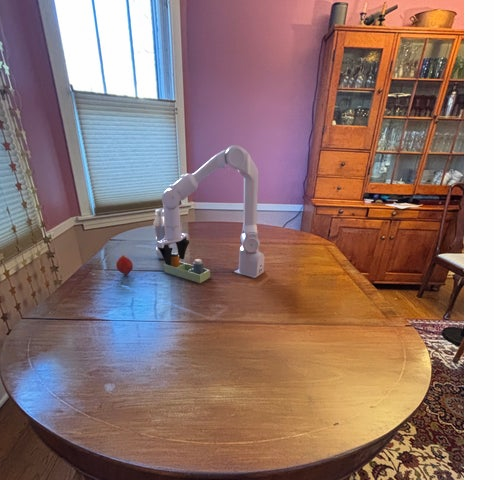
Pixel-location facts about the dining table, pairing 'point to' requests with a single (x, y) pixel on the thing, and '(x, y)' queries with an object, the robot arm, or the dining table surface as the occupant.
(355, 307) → the dining table surface
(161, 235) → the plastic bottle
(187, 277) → the bottle holder
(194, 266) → the slate spice bottle
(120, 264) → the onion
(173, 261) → the amber spice bottle
